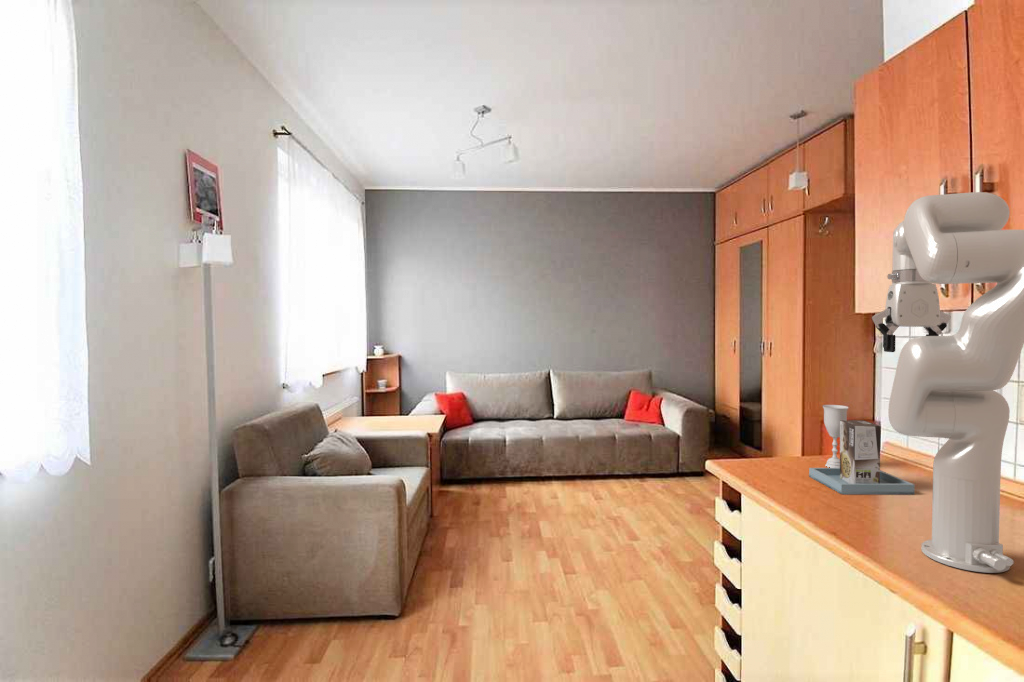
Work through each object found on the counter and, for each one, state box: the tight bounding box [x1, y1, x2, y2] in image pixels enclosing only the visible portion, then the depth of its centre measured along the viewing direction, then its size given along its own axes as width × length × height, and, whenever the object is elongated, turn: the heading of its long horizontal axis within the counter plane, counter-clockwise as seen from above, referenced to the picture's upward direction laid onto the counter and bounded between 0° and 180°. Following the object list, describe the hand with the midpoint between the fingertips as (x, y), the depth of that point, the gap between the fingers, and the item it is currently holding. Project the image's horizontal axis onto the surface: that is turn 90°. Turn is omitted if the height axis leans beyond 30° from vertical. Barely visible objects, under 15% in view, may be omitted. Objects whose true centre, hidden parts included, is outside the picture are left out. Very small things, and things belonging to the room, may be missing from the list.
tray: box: [808, 467, 916, 495], centre depth 148 cm, size 16×18×2 cm
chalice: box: [822, 404, 850, 468], centre depth 166 cm, size 7×7×18 cm
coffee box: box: [839, 419, 882, 484], centre depth 147 cm, size 9×6×16 cm
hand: (910, 351), depth 130 cm, fingers open, 9 cm apart
